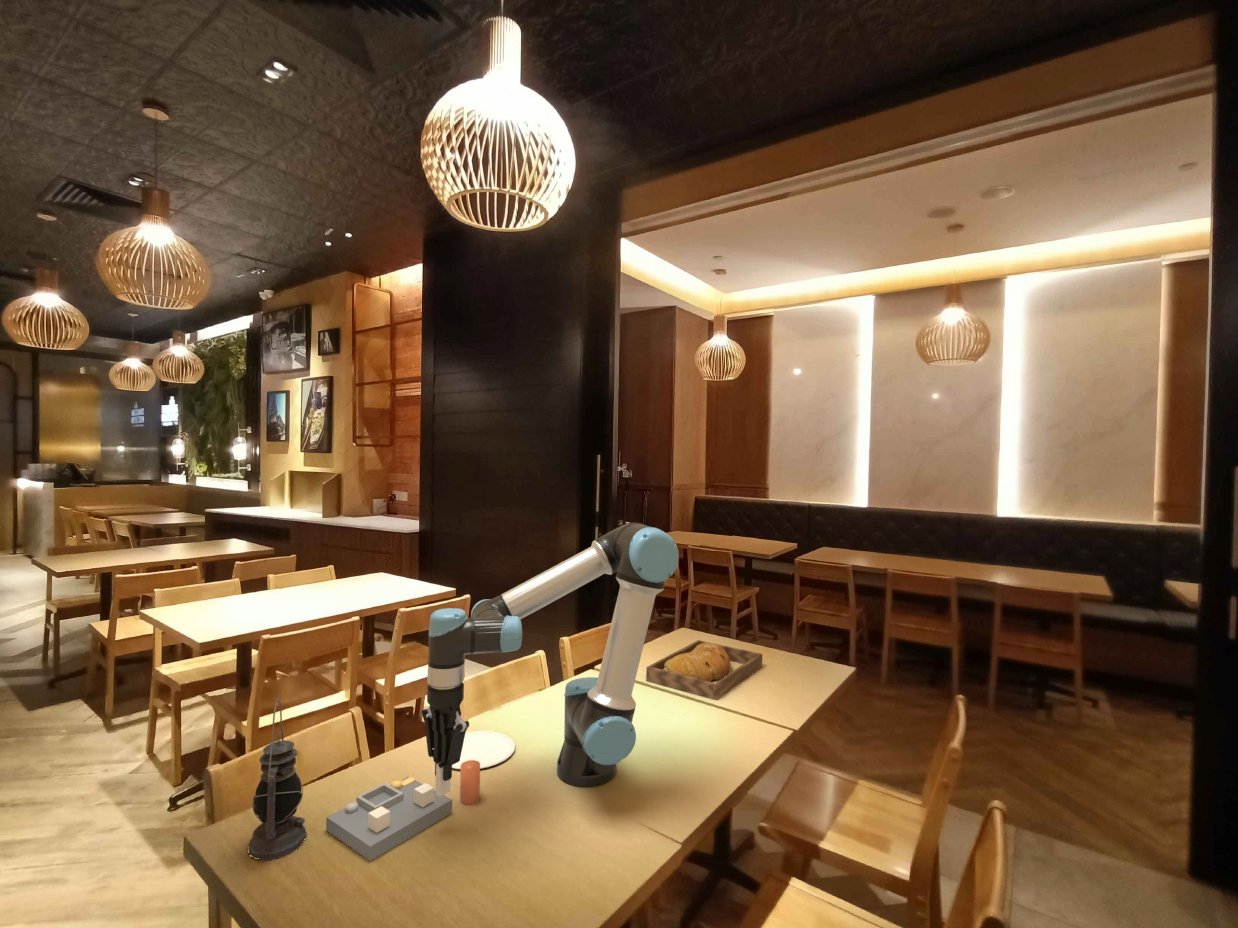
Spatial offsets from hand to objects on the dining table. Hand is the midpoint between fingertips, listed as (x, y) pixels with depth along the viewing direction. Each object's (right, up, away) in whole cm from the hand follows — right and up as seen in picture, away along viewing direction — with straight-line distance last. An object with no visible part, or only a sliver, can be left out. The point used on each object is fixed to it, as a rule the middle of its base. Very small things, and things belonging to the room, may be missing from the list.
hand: (442, 792), depth 129 cm
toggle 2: (-5, -5, +4) cm, 8 cm away
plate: (-1, -8, +33) cm, 34 cm away
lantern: (-32, -8, -6) cm, 33 cm away
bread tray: (+70, -7, +94) cm, 117 cm away
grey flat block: (-12, -7, +2) cm, 14 cm away
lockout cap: (+3, -8, +11) cm, 14 cm away
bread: (+68, -8, +95) cm, 117 cm away
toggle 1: (-12, -5, -5) cm, 13 cm away
